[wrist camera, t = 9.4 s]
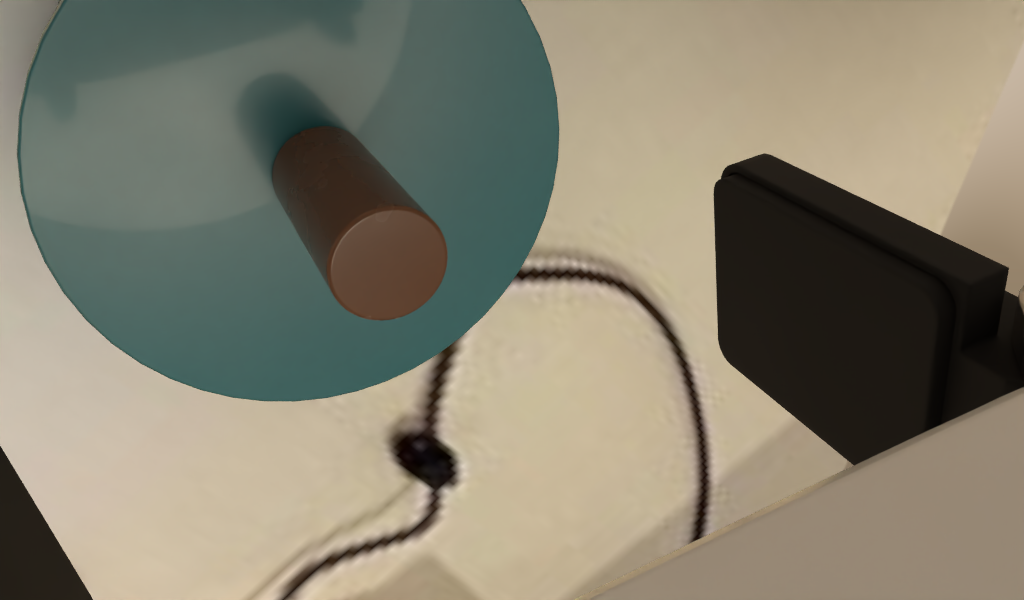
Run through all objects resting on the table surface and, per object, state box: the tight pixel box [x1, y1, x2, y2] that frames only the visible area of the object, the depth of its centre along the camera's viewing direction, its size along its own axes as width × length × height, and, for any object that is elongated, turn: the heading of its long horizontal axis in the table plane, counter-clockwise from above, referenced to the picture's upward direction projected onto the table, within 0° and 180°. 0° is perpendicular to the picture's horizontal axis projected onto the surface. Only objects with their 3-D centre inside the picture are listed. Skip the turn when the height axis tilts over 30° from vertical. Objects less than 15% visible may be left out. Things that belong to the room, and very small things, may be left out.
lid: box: [17, 0, 559, 401], centre depth 19 cm, size 13×13×7 cm
